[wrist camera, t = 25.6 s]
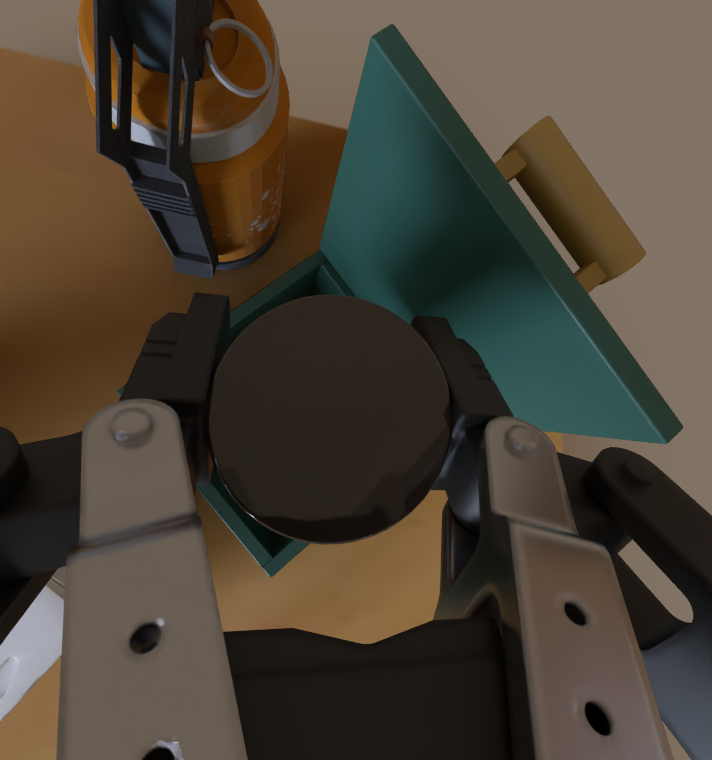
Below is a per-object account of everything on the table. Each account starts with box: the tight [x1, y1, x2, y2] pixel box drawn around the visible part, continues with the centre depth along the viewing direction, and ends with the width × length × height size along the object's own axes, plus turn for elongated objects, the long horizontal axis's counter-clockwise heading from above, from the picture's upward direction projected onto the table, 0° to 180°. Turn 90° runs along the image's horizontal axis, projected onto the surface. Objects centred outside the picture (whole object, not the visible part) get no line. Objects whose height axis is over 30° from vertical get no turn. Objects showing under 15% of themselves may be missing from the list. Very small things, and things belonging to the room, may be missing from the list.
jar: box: [206, 294, 452, 544], centre depth 13 cm, size 4×4×12 cm
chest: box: [117, 250, 357, 577], centre depth 29 cm, size 15×14×7 cm
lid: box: [319, 24, 683, 444], centre depth 19 cm, size 15×14×5 cm
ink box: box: [0, 566, 66, 723], centre depth 23 cm, size 8×5×12 cm, turn 139°
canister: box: [77, 0, 290, 279], centre depth 22 cm, size 9×11×20 cm
